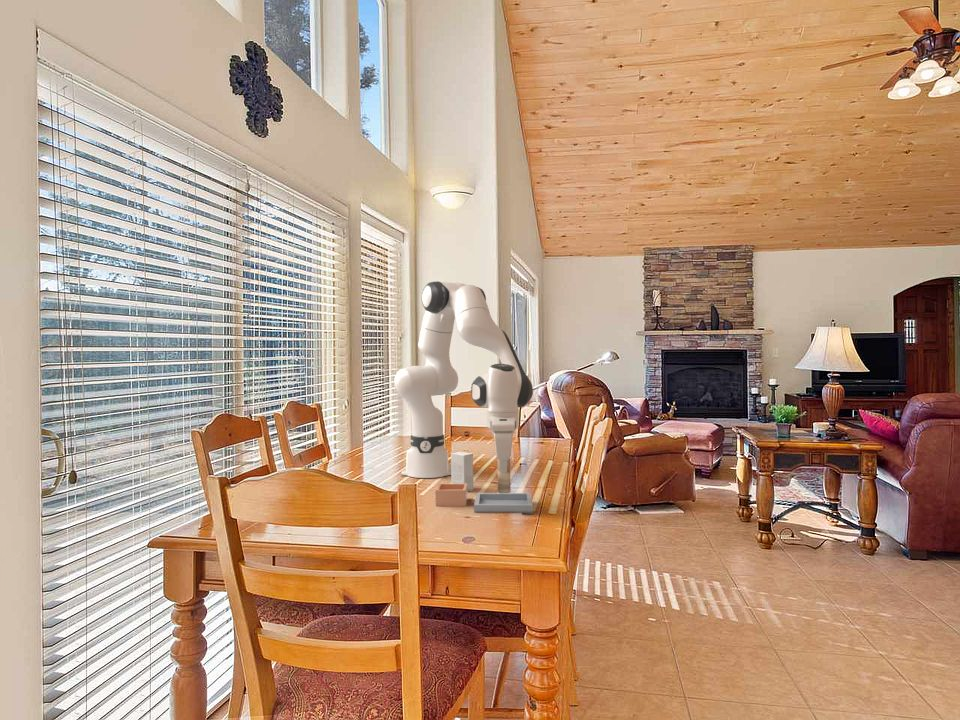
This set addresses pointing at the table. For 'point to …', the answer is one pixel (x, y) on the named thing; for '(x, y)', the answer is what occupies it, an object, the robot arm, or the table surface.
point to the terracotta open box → (451, 495)
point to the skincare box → (462, 469)
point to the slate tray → (503, 503)
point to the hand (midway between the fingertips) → (503, 470)
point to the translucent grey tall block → (503, 478)
